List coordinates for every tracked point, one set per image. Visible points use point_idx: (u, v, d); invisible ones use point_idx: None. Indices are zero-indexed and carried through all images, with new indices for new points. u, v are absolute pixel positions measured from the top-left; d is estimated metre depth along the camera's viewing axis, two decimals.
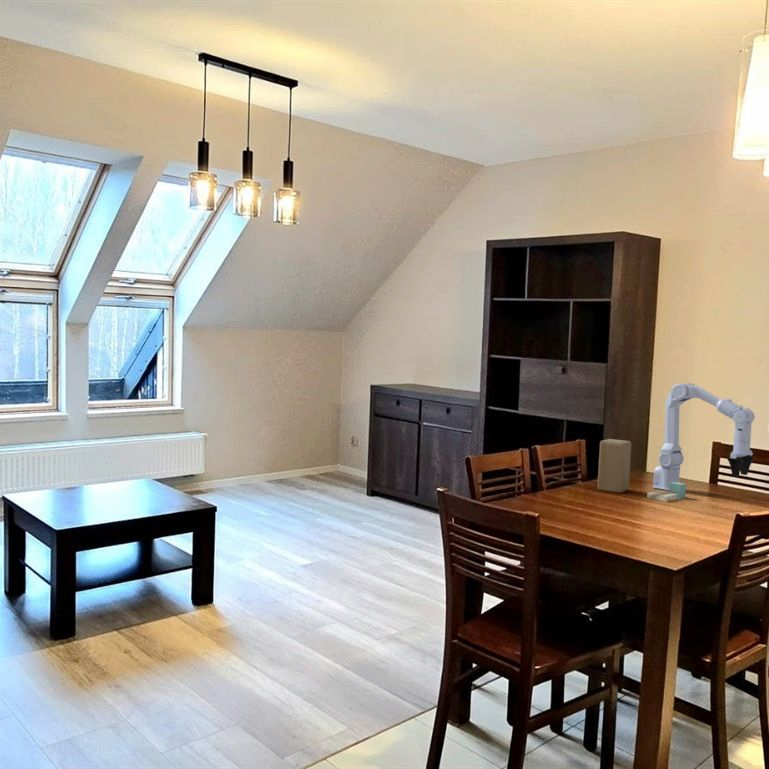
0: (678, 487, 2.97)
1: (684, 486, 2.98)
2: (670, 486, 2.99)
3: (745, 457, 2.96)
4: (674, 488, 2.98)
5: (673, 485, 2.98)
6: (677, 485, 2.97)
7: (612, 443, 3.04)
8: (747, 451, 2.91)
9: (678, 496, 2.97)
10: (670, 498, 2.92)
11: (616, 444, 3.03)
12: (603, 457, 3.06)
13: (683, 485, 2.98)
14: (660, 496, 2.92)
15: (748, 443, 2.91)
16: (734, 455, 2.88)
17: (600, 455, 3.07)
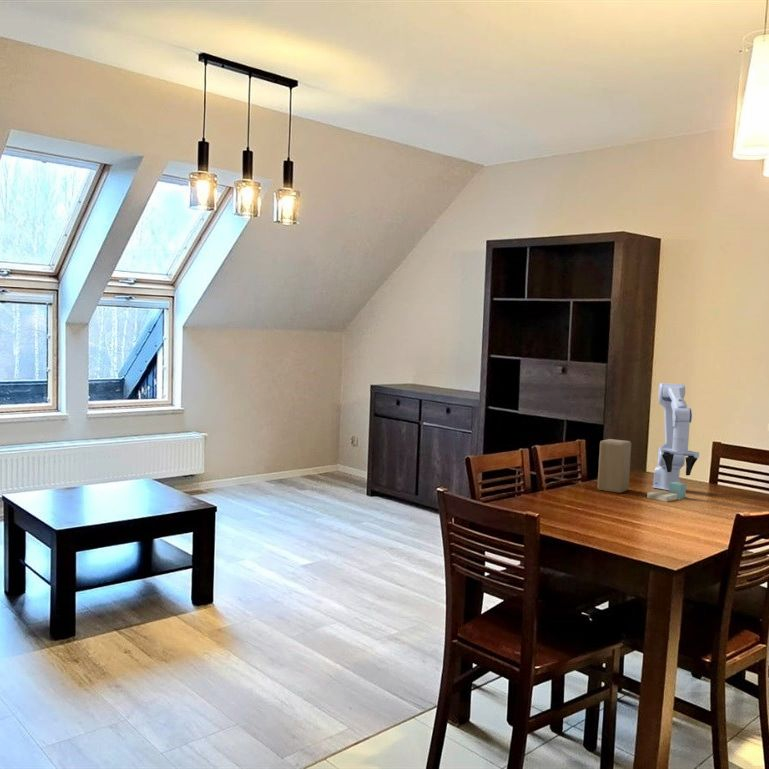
0: (678, 487, 2.97)
1: (684, 486, 2.98)
2: (670, 486, 2.99)
3: None
4: (674, 488, 2.98)
5: (673, 485, 2.98)
6: (677, 485, 2.97)
7: (612, 443, 3.04)
8: (674, 448, 2.97)
9: (678, 496, 2.97)
10: (670, 498, 2.92)
11: (616, 444, 3.03)
12: (603, 457, 3.06)
13: (683, 485, 2.98)
14: (660, 496, 2.92)
15: (675, 441, 2.97)
16: None
17: (600, 455, 3.07)
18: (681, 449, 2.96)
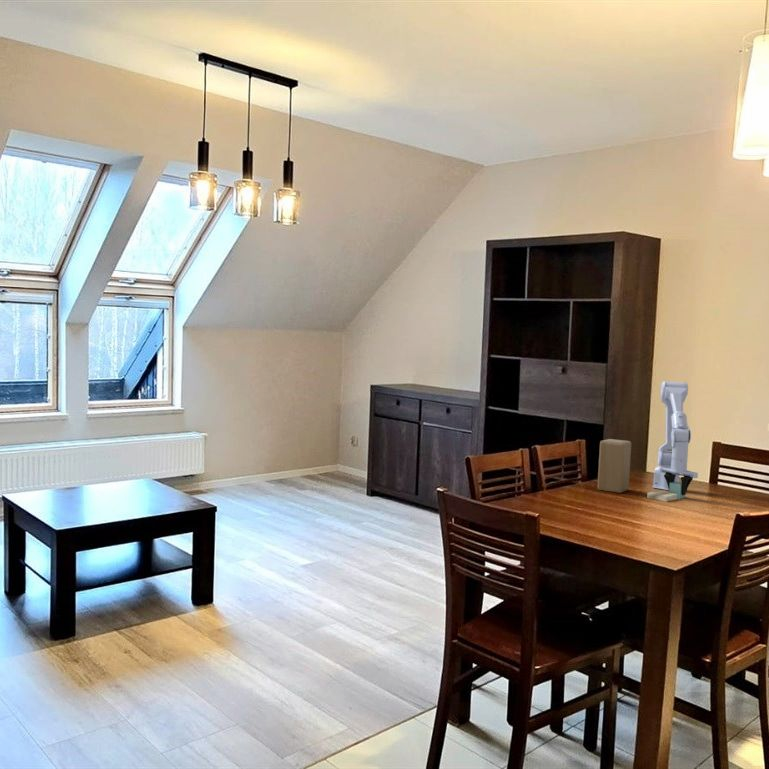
0: (678, 487, 2.97)
1: None
2: (670, 486, 2.99)
3: None
4: (674, 488, 2.98)
5: (673, 485, 2.98)
6: (677, 485, 2.97)
7: (612, 443, 3.04)
8: (673, 468, 2.98)
9: (678, 496, 2.97)
10: (670, 498, 2.92)
11: (616, 444, 3.03)
12: (603, 457, 3.06)
13: None
14: (660, 496, 2.92)
15: (674, 461, 2.97)
16: None
17: (600, 455, 3.07)
18: (680, 469, 2.96)
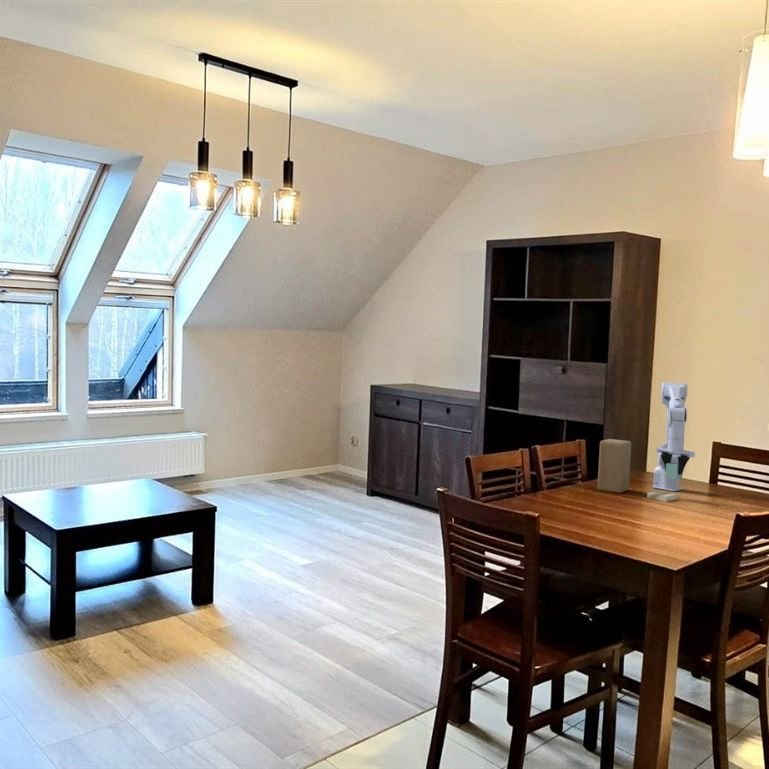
0: (675, 467, 2.95)
1: None
2: (667, 467, 2.97)
3: None
4: (671, 468, 2.96)
5: (670, 465, 2.96)
6: (674, 465, 2.95)
7: (612, 443, 3.04)
8: (669, 448, 2.96)
9: (675, 476, 2.95)
10: (670, 498, 2.92)
11: (616, 444, 3.03)
12: (603, 457, 3.06)
13: None
14: (660, 496, 2.92)
15: (670, 440, 2.95)
16: None
17: (600, 455, 3.07)
18: (676, 449, 2.94)
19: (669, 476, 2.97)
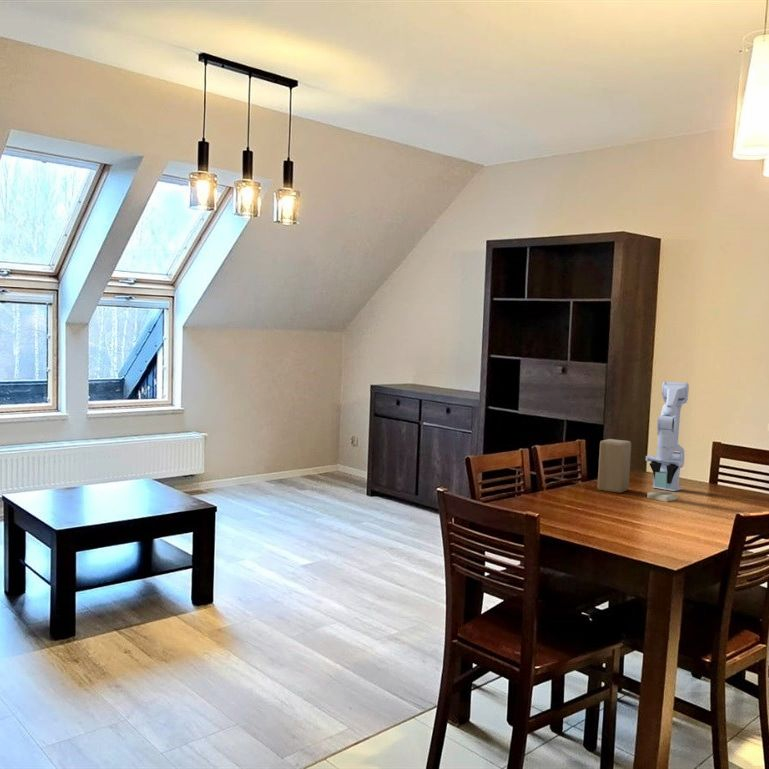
0: (664, 476, 2.93)
1: None
2: (656, 475, 2.95)
3: None
4: (660, 477, 2.94)
5: (659, 474, 2.94)
6: (663, 474, 2.93)
7: (612, 443, 3.04)
8: (658, 457, 2.94)
9: (664, 485, 2.93)
10: (670, 498, 2.92)
11: (616, 444, 3.03)
12: (603, 457, 3.06)
13: None
14: (660, 496, 2.92)
15: (659, 449, 2.93)
16: None
17: (600, 455, 3.07)
18: (665, 457, 2.92)
19: (658, 485, 2.94)
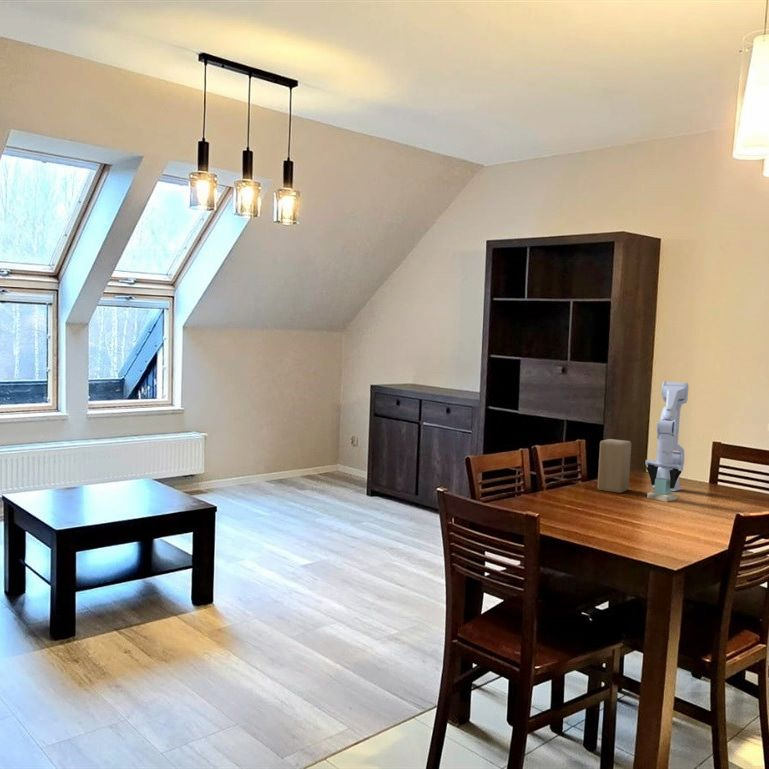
0: (663, 483, 2.93)
1: (669, 482, 2.94)
2: (655, 482, 2.95)
3: None
4: (659, 484, 2.94)
5: (658, 481, 2.94)
6: (662, 481, 2.93)
7: (612, 443, 3.04)
8: (658, 461, 2.94)
9: (663, 492, 2.93)
10: (670, 498, 2.92)
11: (616, 444, 3.03)
12: (603, 457, 3.06)
13: (668, 481, 2.94)
14: (660, 496, 2.92)
15: (659, 453, 2.93)
16: None
17: (600, 455, 3.07)
18: (665, 462, 2.92)
19: (658, 492, 2.94)
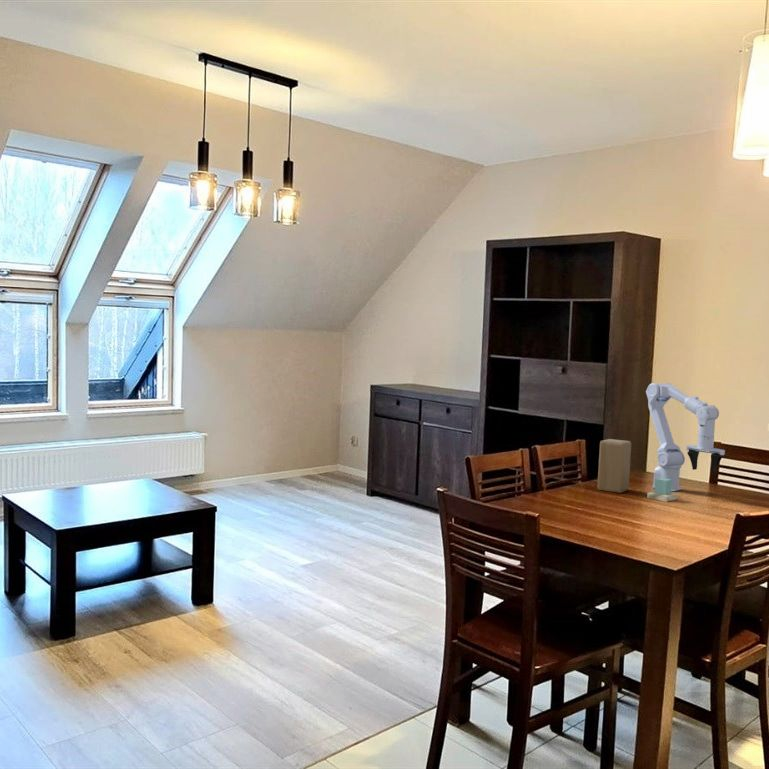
0: (663, 483, 2.93)
1: (669, 482, 2.94)
2: (655, 482, 2.95)
3: None
4: (659, 484, 2.94)
5: (658, 481, 2.94)
6: (662, 481, 2.93)
7: (612, 443, 3.04)
8: (699, 446, 2.99)
9: (663, 492, 2.93)
10: (670, 498, 2.92)
11: (616, 444, 3.03)
12: (603, 457, 3.06)
13: (668, 481, 2.94)
14: (660, 496, 2.92)
15: (700, 438, 2.98)
16: None
17: (600, 455, 3.07)
18: (706, 446, 2.97)
19: (658, 492, 2.94)
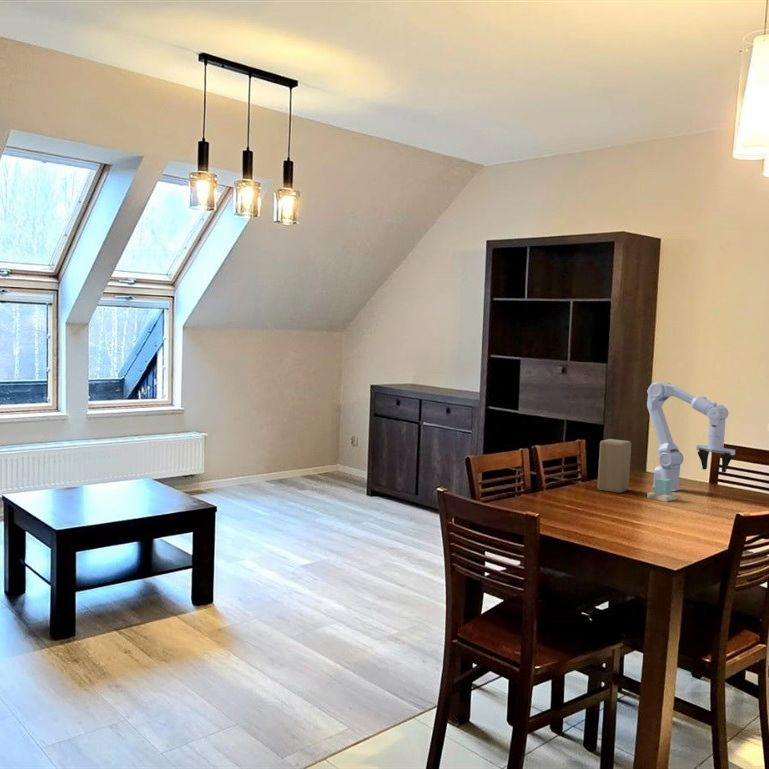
0: (663, 483, 2.93)
1: (669, 482, 2.94)
2: (655, 482, 2.95)
3: None
4: (659, 484, 2.94)
5: (658, 481, 2.94)
6: (662, 481, 2.93)
7: (612, 443, 3.04)
8: (710, 446, 3.00)
9: (663, 492, 2.93)
10: (670, 498, 2.92)
11: (616, 444, 3.03)
12: (603, 457, 3.06)
13: (668, 481, 2.94)
14: (660, 496, 2.92)
15: (711, 438, 3.00)
16: None
17: (600, 455, 3.07)
18: (717, 446, 2.98)
19: (658, 492, 2.94)
